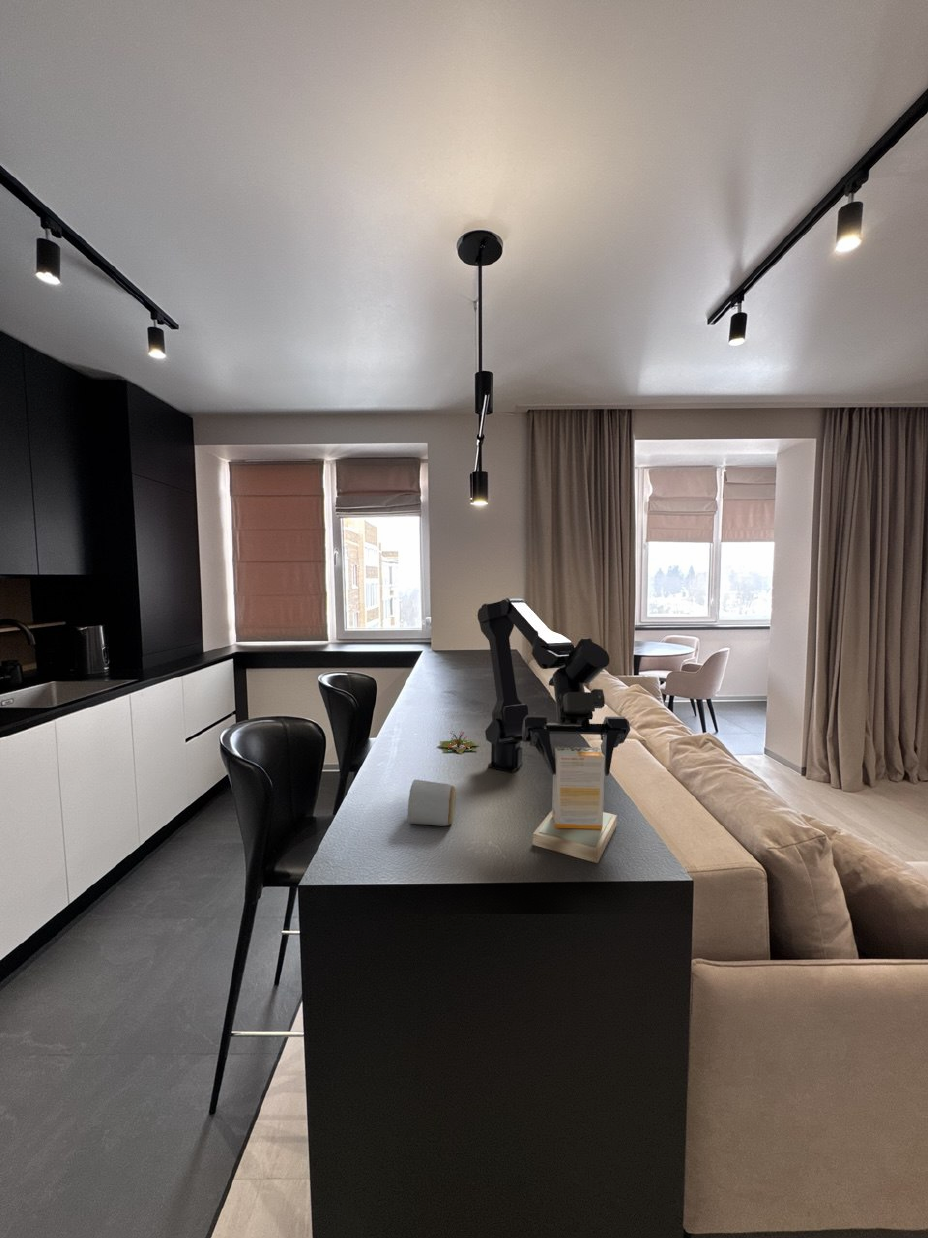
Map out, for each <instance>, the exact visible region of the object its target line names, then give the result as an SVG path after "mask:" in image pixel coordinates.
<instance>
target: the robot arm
mask: <svg viewBox="0 0 928 1238" xmlns="http://www.w3.org/2000/svg"><path fill="white" fill-rule="evenodd" d="M477 620H478V623H479V627H480V631H481V632H482V634H483V635H484V636H485V638H486V639H487V640H488V642H489V650H490V658H491V665H492V673H493V680H494V681H493V682H494V686H495V694H496V702H495V704H494V707H493V710H492V712H491V718H492V720H491V722H490V724H489V725H488V726H487V728H486V729H485V730H484V733H485V740H486V741H488V742H489V743H491V748H490V749H491V750H490V751H491V752H490V763H488V764H487V767H488V768H491V769H497V770H500V771H506V772H509V773H510V772H511V773H514V772H515V771H516V770H518V768H520V767H521V766H522V765H523V763H524V762H523V748H522V747H521V746H522V745H521V742H524V743H529V746H530V747H534V748H536V750H537V751H538V753H539V754H540V755H541V757H542V759H543V760H544V762H545V764H546V766H547V768H548V770H549V771H550V774H551V775H552V776H553V775H555V763H554V758H553V753H554V752H553V749H552V742H551V735H594V736H595V735H596V736H598V735H599V736H600V739H601V741H602V742H601V744H600V751H601V752H602V754H603V755H604V756H605V767H604V776H606V777H607V776H609V775H610V770H611V765H612V758H613V753H614V749H615V748H617V747H619V745H621V744H624V743H625V742H626V740H627V737H628V735H629V733H630V732H631V724H630V721H629V720H628V719H627V718H626V717H625V716H605V717H604V720H603V722H602V723H591V722H590V720H593V718H594V715H593V714H594V713H595V712H596V709H603V708H604V707H605V705H606V702H605V701H606V700H605V694H604V689H603V688H602V689H601V688H599V689H598V688H592V689H591V691H589V692H588V691H586V692H585V684H586V685H588V684H590V683H591V682H593V681H594V680H595V679H596V678H597V677H598V676H599V675H600V674H601V673H602V672H603V671H604V670H605V669H606V667H608V666H609V664H610V660H611V659H610V656H609V653H608V651H607V650H605V649H604V647H602V646H601V645H599V644H597V643H595V642H593V640H592V639H591V637H585V638H584V637H583V638H580V640H579V641H578V643H577V644H576V645H574V643H573V642H572V641H571V640H570V639H568V638H567V637H566V636H564V635H562V634H560V633H557V632H555V631H552V630H551V629H550V628H548V626H547V625H546V624H545V623H544V622H543V621H542V620H541V619H540V618H539V617H538V616H537V614H536V613H534V611H533V610H531V608H530V607H529V606H528V605H527V602H526V599H523V598H521V597H517V598H516V597H510V598H509V597H506V598H505V599H501V600H500V601H495V602H492V603H484V604H482V605H481V607H480V608H479V609H478V610H477ZM514 627H516V628H517V630H518V631H519V632H520V634H521V635H522V636H523V637H524V638H525V639H526V640H527V642H528V643H530V645H531V655H532V657H533V658H534V660H535V662H536V664H537V665H538V667H539V668H541V669H542V670H548V669H550V670H553V669H556V670H555V671H554V673H553V674H552V677H551V678H550V679H549V682H548V685H549V687H550V686H551V687H553V691H554V693H553V694H554V700H555V710H556V718H557V722H548V720H547V719H548V718H547V715H540V714H539V715H538V714H536V715H535V714H534V715H533V714H529V707H528V705H527V703H522V701H521V700H520V698H519V696H518V690H517V683H516V682H517V681H516V675H515V668H514V660H513V656H512V655H513V654H512V648H511V640H510V637H511V634H512V632H513V629H514ZM593 712H594V713H593Z"/></svg>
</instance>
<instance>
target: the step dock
mask: <svg viewBox="0 0 928 1238" xmlns="http://www.w3.org/2000/svg"><path fill="white" fill-rule="evenodd" d="M617 821H618V815H617V814H613V813H609V812H605V811H603V827H602V829H580V828H556V826H555V823H554V819H553V816H552V810H550V812H549V813H548V814H547V816H545V818H544V819H543V821H542V822H541V823H540V824H539V825H538V827H537V828H536V829H534V832H533V833H532V846H536V847H540V848H543V849H546V850H550V851H553V852H557V853H560V854H564V855H568V856H571V857H575V858H578V859H582V860H585V861H589V862H592V863H595V864H599V861H600V860H601V858H602V855H603V854H604V851H605V850H606V847H607V846H608V843H609V842H610V840H611V837H612V835H613V834H614V831H615V829H616V828H617V823H618V822H617Z"/></svg>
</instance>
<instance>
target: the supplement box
mask: <svg viewBox="0 0 928 1238" xmlns="http://www.w3.org/2000/svg"><path fill="white" fill-rule="evenodd" d="M552 753H553V758H554V763H555V775H552V797H551V798H552V801H551V802H552V805H551V806H552V807H551V811H552V816H553V819H554V823H555V826H556V828H580V829H602V827H603V812H604V798H605V796H604V793H605V792H604V791H605V772H604V767H605V756H604V755H603V754H602V752H601V748H599V747H594V746H593V747H591V746H590V747H589V746H588V747H587V746H586V747H583V746H582V747H581V746H580V747H579V746H576V747H575V746H553V752H552Z"/></svg>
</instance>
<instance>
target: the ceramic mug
mask: <svg viewBox="0 0 928 1238" xmlns="http://www.w3.org/2000/svg"><path fill="white" fill-rule="evenodd" d="M456 799H457V790H456V787H455V786H454V785H452V784H448V783H444V782H435V781H429V780H420V779H414V780H412V783H411V786H410V790H409V796H408V802H407V822H408V824H410V825H425V826H428V825H429V826H431V825H432V826H443V827H444V826H449V825H451V824H453V822H454V819H455V818H454V817H455V810H456V802H457V801H456Z"/></svg>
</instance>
